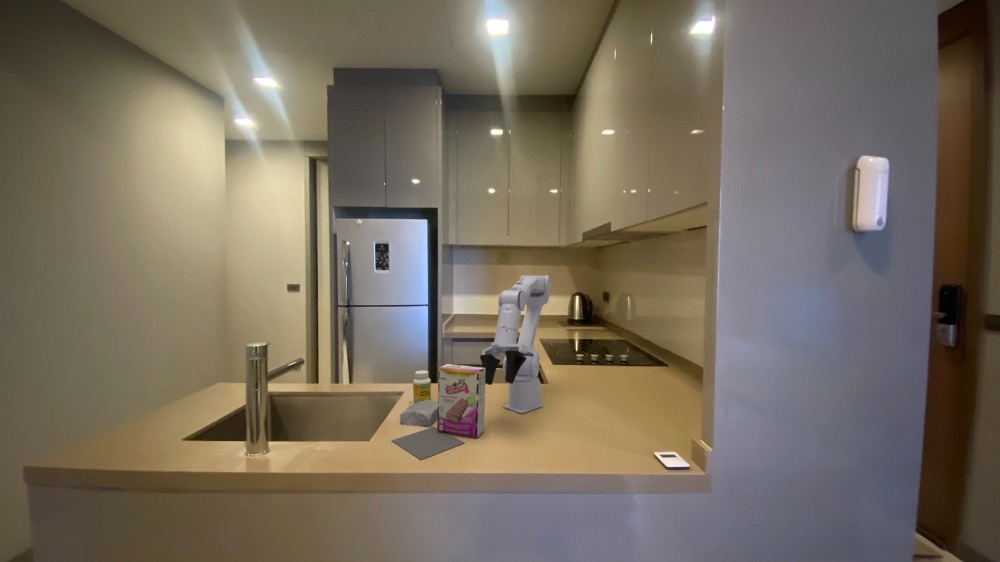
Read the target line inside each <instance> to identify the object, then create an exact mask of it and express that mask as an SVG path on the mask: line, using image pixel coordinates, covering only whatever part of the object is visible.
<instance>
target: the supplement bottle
mask: <svg viewBox="0 0 1000 562" xmlns="http://www.w3.org/2000/svg"><path fill="white" fill-rule="evenodd" d="M414 376H415V378H414V379H413V381H412V389H413V392H412V393H413V396H412V397H413V399H412V400H413V403H416V402H420V401H425V400H431V401H432V389H431V388H432V386H431V385H432V383H431V382H432V379H431V378H430V377H429V371H428V370H417V371H415V372H414Z"/></svg>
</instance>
